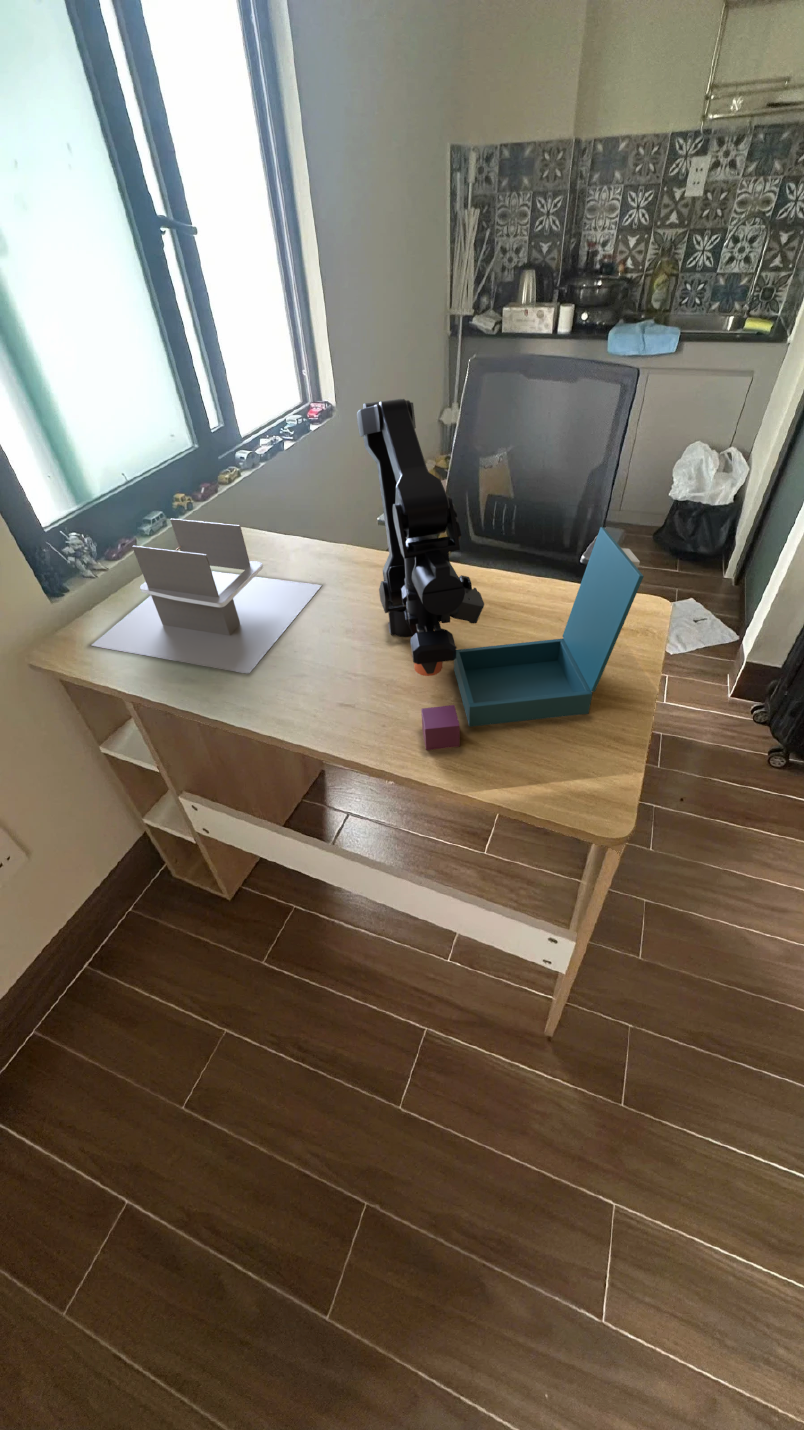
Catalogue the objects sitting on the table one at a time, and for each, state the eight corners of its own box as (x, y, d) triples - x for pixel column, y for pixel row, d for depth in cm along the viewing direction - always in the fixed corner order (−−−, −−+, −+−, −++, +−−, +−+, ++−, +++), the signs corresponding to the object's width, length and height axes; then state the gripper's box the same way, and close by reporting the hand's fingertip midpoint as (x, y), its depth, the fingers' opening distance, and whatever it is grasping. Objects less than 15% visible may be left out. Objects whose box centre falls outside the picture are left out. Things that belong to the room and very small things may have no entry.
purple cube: (426, 753, 88) (425, 729, 85) (422, 732, 92) (421, 708, 88) (459, 750, 89) (459, 725, 85) (454, 728, 92) (454, 704, 89)
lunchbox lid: (639, 575, 76) (658, 577, 76) (600, 526, 87) (617, 528, 87) (591, 691, 89) (607, 692, 89) (562, 636, 99) (576, 637, 100)
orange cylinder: (416, 677, 95) (414, 652, 92) (412, 660, 99) (411, 635, 95) (444, 674, 95) (444, 649, 92) (440, 657, 99) (439, 632, 95)
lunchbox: (469, 730, 92) (469, 707, 88) (453, 672, 102) (453, 649, 99) (587, 717, 92) (592, 693, 89) (560, 661, 103) (563, 638, 100)
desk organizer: (248, 673, 105) (224, 589, 94) (90, 645, 115) (50, 566, 104) (322, 585, 127) (309, 508, 116) (183, 567, 137) (159, 494, 125)
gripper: (493, 606, 79) (489, 695, 90) (468, 543, 93) (467, 626, 104) (411, 615, 79) (416, 703, 90) (398, 550, 93) (403, 633, 103)
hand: (428, 664), depth 97 cm, fingers closed on orange cylinder, 4 cm apart
